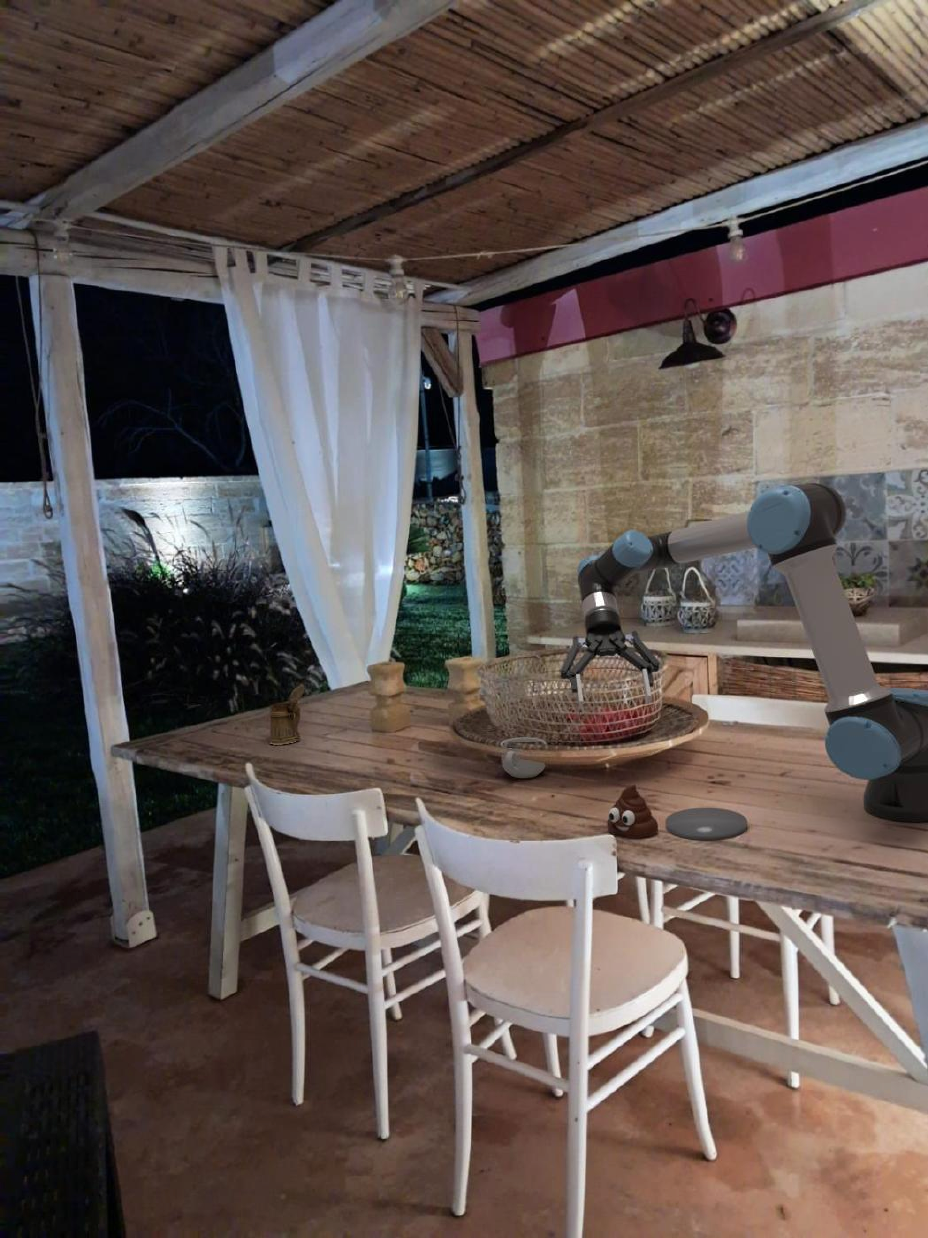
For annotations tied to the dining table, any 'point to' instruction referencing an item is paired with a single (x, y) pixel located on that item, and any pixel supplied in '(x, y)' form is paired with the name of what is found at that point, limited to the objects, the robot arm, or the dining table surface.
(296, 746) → the dining table surface
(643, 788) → the dining table surface
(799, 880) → the dining table surface
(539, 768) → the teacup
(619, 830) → the poop emoji
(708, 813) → the charcoal plate
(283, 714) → the wooden mug
